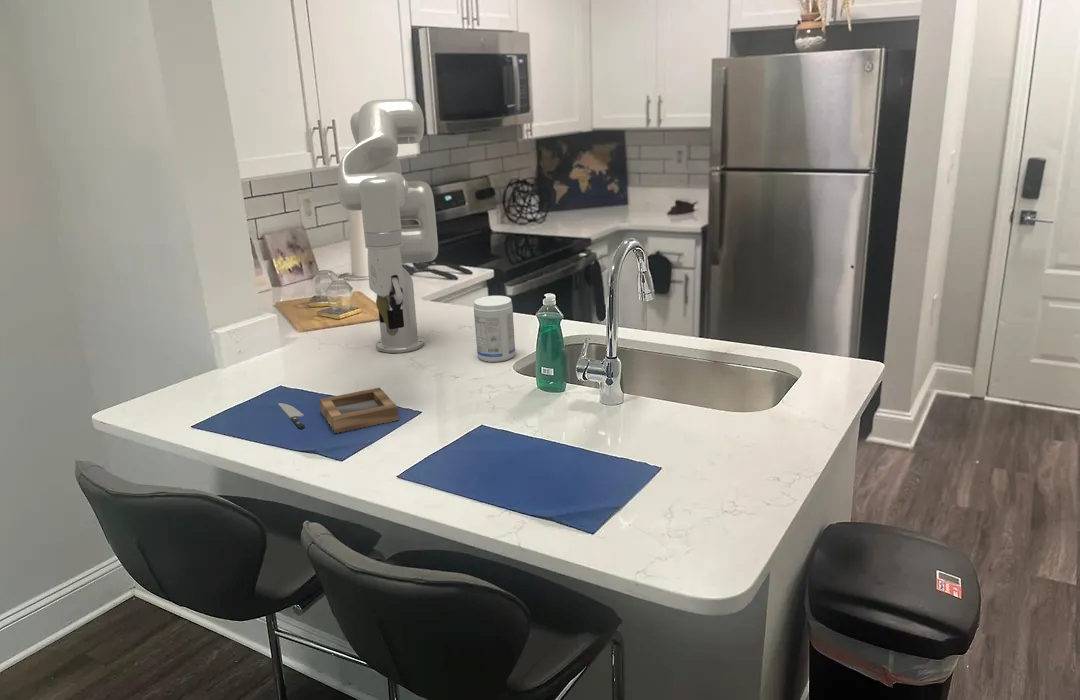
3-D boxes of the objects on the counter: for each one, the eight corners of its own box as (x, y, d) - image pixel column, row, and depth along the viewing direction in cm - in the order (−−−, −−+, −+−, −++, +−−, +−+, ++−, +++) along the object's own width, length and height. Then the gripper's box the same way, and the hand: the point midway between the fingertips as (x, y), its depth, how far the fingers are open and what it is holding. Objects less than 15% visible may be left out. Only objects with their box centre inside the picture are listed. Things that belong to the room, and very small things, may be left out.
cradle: (321, 412, 171) (319, 399, 170) (380, 400, 177) (379, 387, 176) (335, 433, 160) (333, 419, 159) (398, 420, 165) (397, 406, 164)
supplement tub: (500, 348, 208) (497, 293, 204) (523, 356, 201) (520, 299, 197) (469, 357, 203) (465, 300, 198) (491, 365, 196) (488, 307, 191)
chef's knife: (289, 400, 180) (276, 403, 178) (289, 396, 180) (275, 398, 178) (314, 428, 164) (299, 431, 163) (313, 423, 164) (299, 425, 162)
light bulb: (411, 334, 171) (407, 287, 168) (391, 340, 167) (386, 293, 164) (395, 330, 174) (390, 284, 171) (374, 336, 170) (369, 290, 167)
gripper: (353, 235, 170) (362, 318, 175) (378, 247, 155) (387, 337, 161) (388, 231, 173) (395, 313, 179) (415, 242, 159) (422, 331, 164)
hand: (391, 323), depth 170 cm, fingers closed on light bulb, 5 cm apart
